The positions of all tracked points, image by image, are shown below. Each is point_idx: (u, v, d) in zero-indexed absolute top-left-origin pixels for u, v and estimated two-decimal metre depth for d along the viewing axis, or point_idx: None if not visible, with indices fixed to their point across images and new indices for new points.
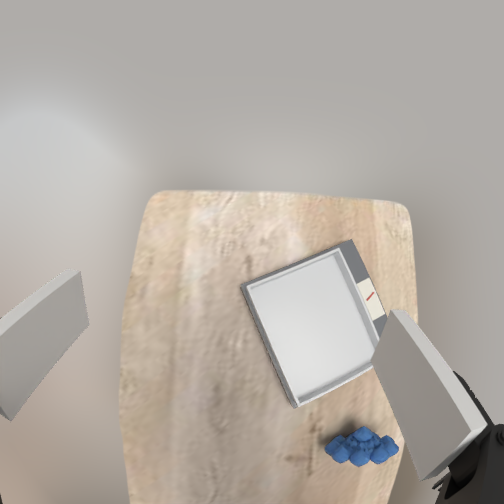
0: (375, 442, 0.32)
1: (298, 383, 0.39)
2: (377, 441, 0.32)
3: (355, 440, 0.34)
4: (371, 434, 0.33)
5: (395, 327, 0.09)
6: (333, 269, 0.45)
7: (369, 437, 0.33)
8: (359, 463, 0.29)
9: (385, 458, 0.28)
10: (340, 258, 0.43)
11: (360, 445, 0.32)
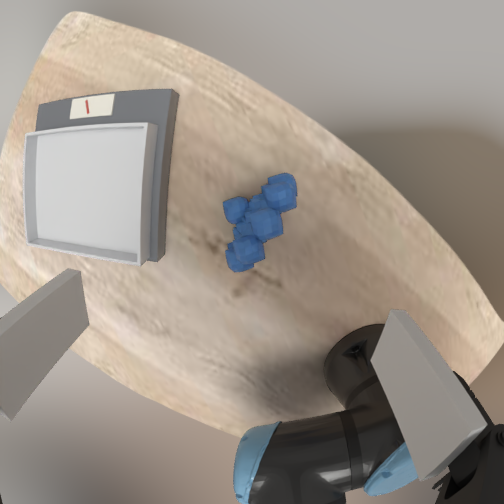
0: (253, 206, 0.26)
1: (127, 242, 0.32)
2: (255, 202, 0.26)
3: None
4: (239, 202, 0.27)
5: (395, 327, 0.09)
6: (47, 142, 0.28)
7: (239, 209, 0.26)
8: (248, 261, 0.24)
9: (269, 224, 0.22)
10: (34, 135, 0.25)
11: (238, 231, 0.27)
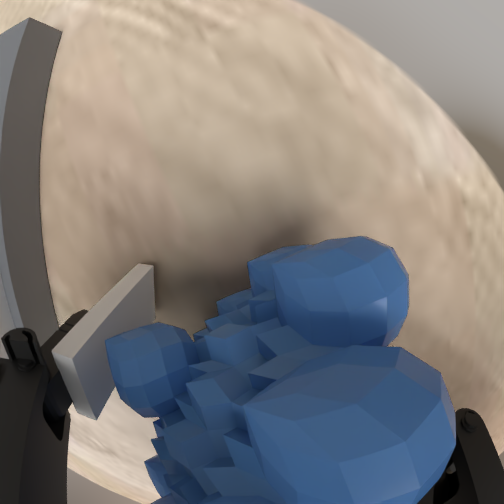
0: (202, 416, 0.05)
1: None
2: (206, 404, 0.05)
3: None
4: (145, 373, 0.05)
5: None
6: None
7: (150, 399, 0.05)
8: None
9: None
10: None
11: None
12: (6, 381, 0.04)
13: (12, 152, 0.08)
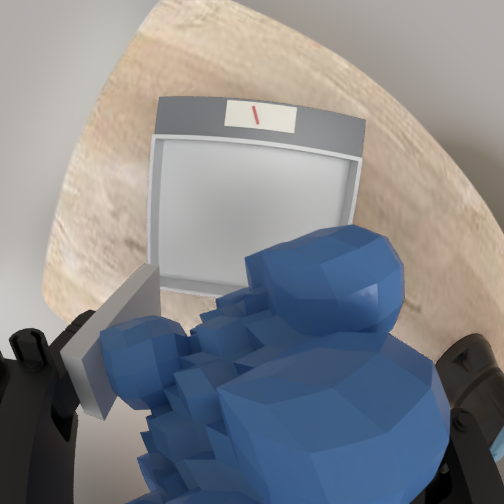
0: (188, 407, 0.05)
1: None
2: (191, 395, 0.04)
3: None
4: (134, 363, 0.05)
5: None
6: (183, 150, 0.26)
7: (139, 390, 0.05)
8: None
9: None
10: None
11: None
12: (13, 382, 0.04)
13: None
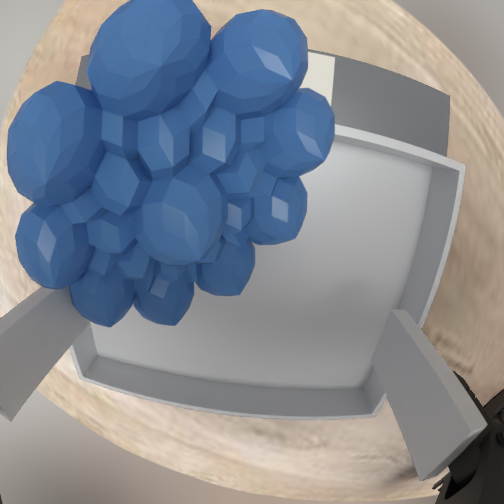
0: None
1: (336, 376, 0.16)
2: None
3: None
4: None
5: (395, 327, 0.09)
6: None
7: None
8: (9, 132, 0.04)
9: None
10: None
11: None
12: None
13: None
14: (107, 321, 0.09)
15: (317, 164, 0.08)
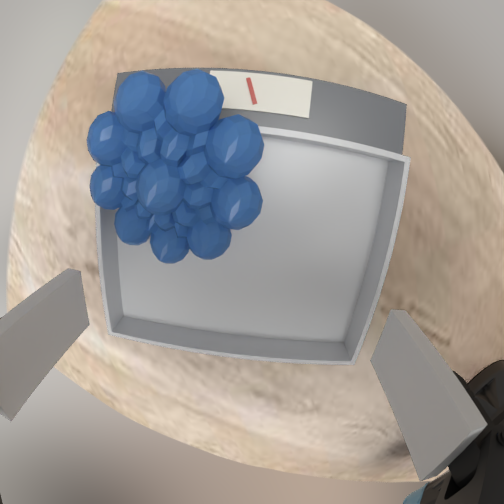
0: None
1: (320, 329, 0.22)
2: None
3: None
4: None
5: (395, 327, 0.09)
6: None
7: None
8: (89, 129, 0.12)
9: None
10: None
11: None
12: None
13: None
14: (121, 236, 0.16)
15: (224, 166, 0.12)
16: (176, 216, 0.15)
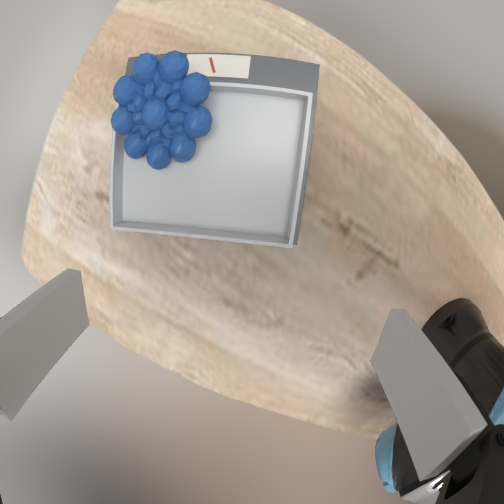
0: None
1: (265, 223, 0.30)
2: None
3: None
4: None
5: (395, 327, 0.09)
6: None
7: None
8: None
9: (141, 55, 0.18)
10: None
11: None
12: None
13: None
14: (128, 149, 0.24)
15: (187, 96, 0.20)
16: (162, 131, 0.23)
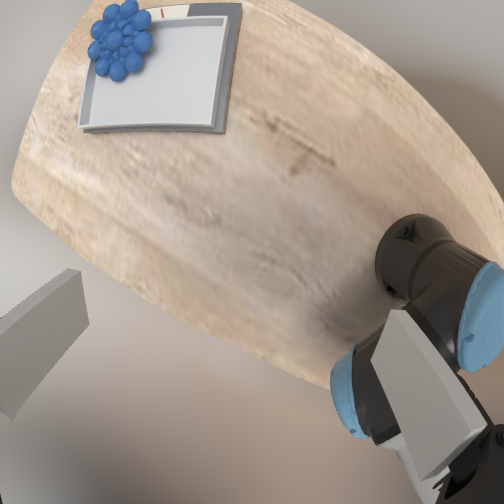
0: None
1: (194, 113, 0.32)
2: None
3: None
4: None
5: (395, 327, 0.09)
6: None
7: None
8: (92, 27, 0.23)
9: None
10: None
11: None
12: None
13: (235, 41, 0.30)
14: (96, 67, 0.27)
15: (134, 22, 0.22)
16: (119, 50, 0.25)
